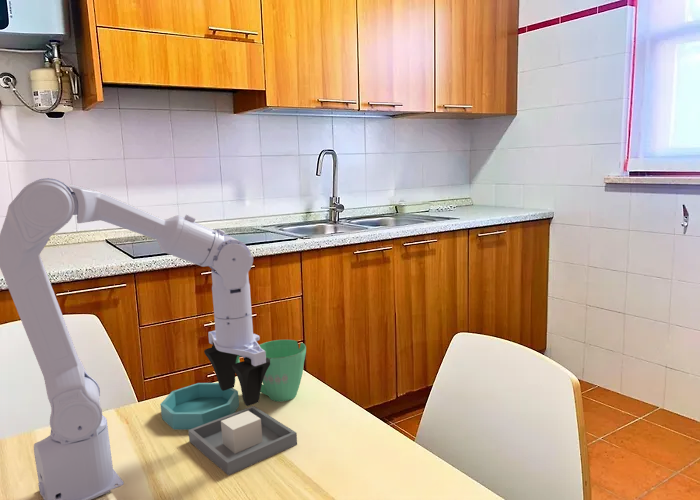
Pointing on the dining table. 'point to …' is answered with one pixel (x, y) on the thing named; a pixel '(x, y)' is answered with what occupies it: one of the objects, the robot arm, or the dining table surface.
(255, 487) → the dining table surface
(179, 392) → the bowl
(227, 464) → the parts tray
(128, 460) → the dining table surface
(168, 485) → the dining table surface
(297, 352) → the mug
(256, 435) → the off-white smooth cube
